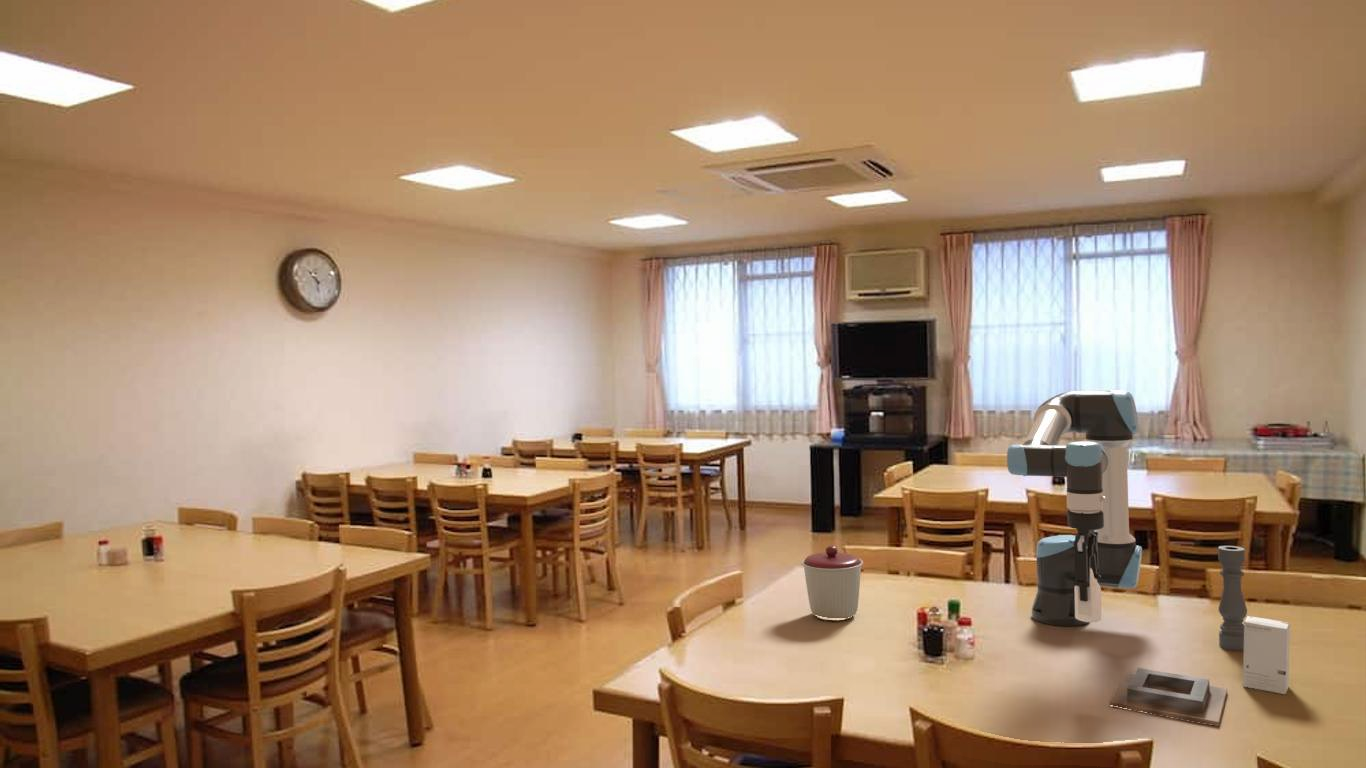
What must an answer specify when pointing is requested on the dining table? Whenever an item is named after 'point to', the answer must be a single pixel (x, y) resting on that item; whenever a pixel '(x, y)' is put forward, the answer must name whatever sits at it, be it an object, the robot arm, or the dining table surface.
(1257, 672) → the skincare box
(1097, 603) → the white bottle-shaped piece
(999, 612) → the dining table surface
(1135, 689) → the socket
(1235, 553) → the candle holder
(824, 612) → the canister
